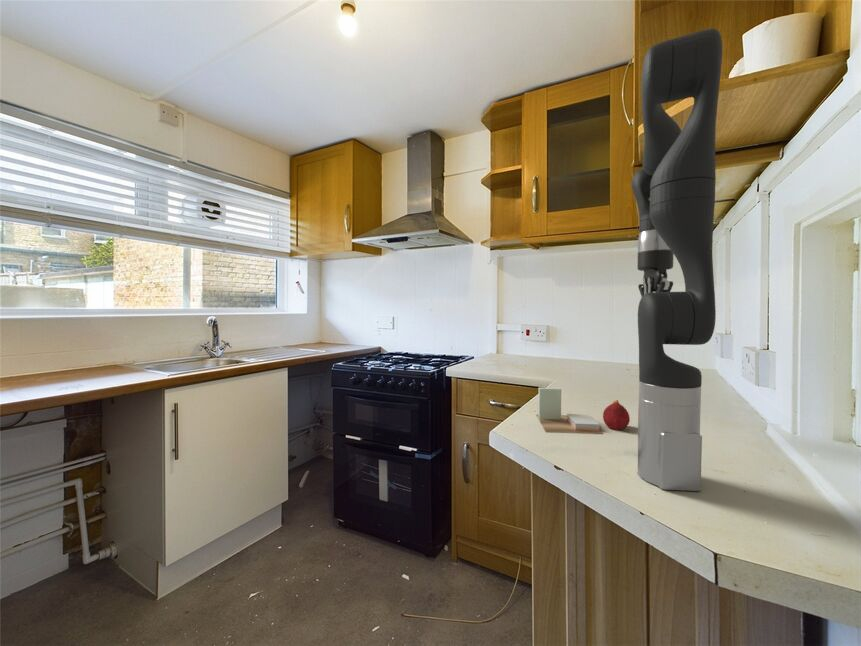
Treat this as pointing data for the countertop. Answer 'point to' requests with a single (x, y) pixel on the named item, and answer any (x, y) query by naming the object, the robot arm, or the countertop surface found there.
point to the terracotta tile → (583, 422)
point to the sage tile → (549, 403)
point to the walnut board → (562, 426)
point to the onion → (616, 416)
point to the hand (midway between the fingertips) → (653, 320)
